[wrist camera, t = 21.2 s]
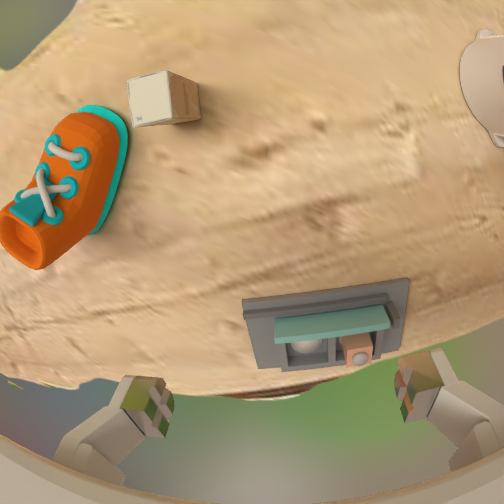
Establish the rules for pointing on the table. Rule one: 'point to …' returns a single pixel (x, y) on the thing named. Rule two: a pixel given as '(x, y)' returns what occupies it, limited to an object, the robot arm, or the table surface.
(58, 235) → the toy shoe
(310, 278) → the table surface
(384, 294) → the housing
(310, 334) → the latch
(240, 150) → the table surface
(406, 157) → the table surface
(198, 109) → the box
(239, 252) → the table surface
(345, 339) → the peach button block
